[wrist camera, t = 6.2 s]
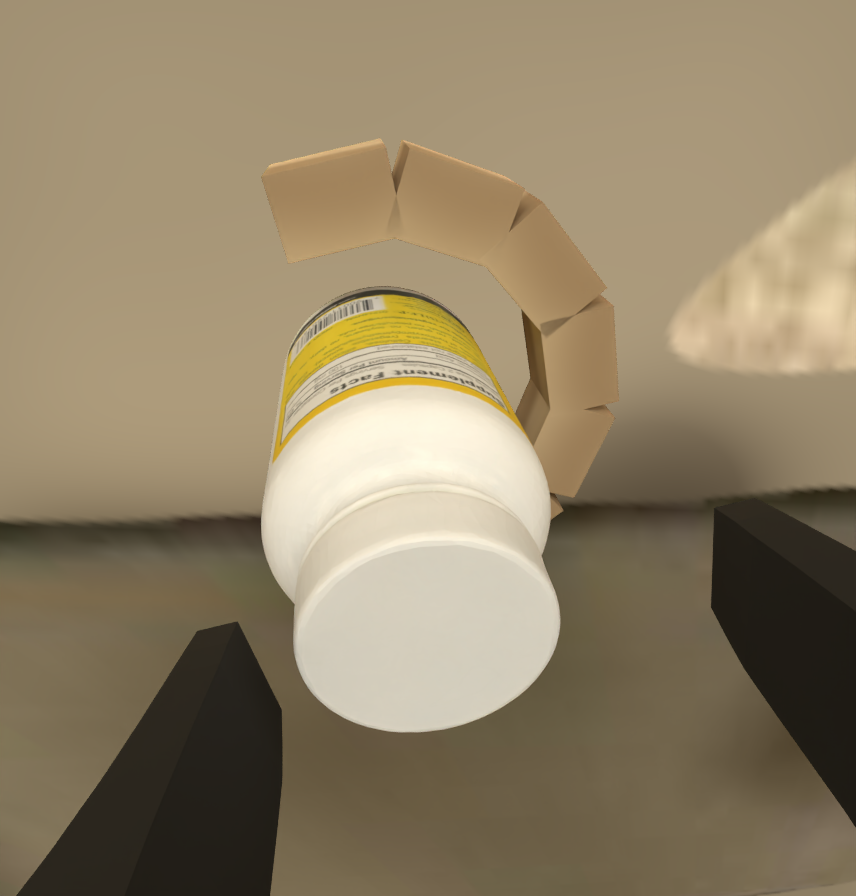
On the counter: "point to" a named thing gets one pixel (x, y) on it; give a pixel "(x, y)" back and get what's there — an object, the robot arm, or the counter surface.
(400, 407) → the supplement bottle
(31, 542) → the counter surface
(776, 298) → the counter surface
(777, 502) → the counter surface
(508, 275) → the oak collar
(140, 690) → the counter surface
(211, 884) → the robot arm
